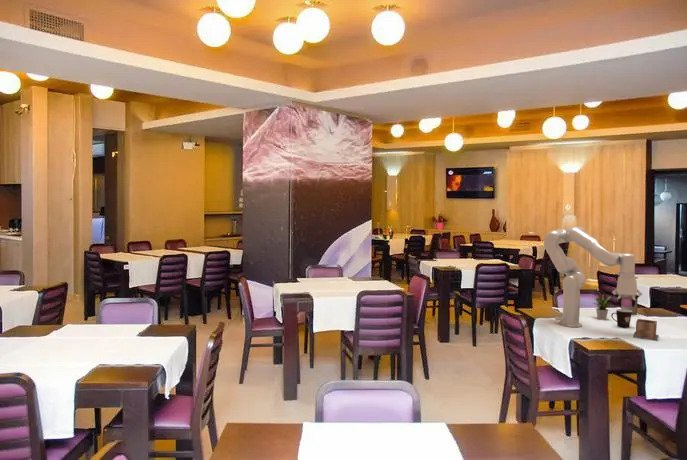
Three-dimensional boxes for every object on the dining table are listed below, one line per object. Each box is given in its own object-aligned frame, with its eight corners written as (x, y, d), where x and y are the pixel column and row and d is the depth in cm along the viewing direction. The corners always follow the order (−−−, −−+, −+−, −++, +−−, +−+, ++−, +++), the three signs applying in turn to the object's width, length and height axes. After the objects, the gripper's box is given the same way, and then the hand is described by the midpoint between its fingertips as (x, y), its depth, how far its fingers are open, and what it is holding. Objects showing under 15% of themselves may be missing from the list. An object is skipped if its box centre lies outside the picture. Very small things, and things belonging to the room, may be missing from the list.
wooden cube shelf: (632, 337, 310) (633, 321, 310) (634, 333, 320) (635, 318, 320) (657, 340, 304) (658, 325, 303) (658, 336, 314) (659, 321, 313)
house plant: (588, 319, 353) (589, 294, 352) (587, 315, 366) (588, 291, 365) (612, 322, 348) (613, 296, 347) (611, 317, 361) (612, 292, 360)
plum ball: (620, 307, 316) (620, 297, 315) (621, 306, 321) (621, 296, 320) (631, 308, 312) (632, 298, 312) (633, 307, 317) (633, 296, 317)
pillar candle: (637, 313, 375) (638, 291, 374) (636, 315, 367) (637, 293, 366) (621, 311, 380) (622, 290, 380) (620, 314, 372) (620, 292, 371)
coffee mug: (629, 325, 338) (630, 309, 338) (632, 329, 330) (633, 312, 330) (609, 324, 342) (609, 308, 341) (610, 327, 334) (611, 310, 333)
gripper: (609, 274, 317) (609, 305, 318) (643, 276, 308) (643, 308, 309) (611, 273, 324) (611, 303, 324) (644, 275, 314) (644, 306, 315)
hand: (626, 305), depth 317 cm, fingers closed on plum ball, 5 cm apart
